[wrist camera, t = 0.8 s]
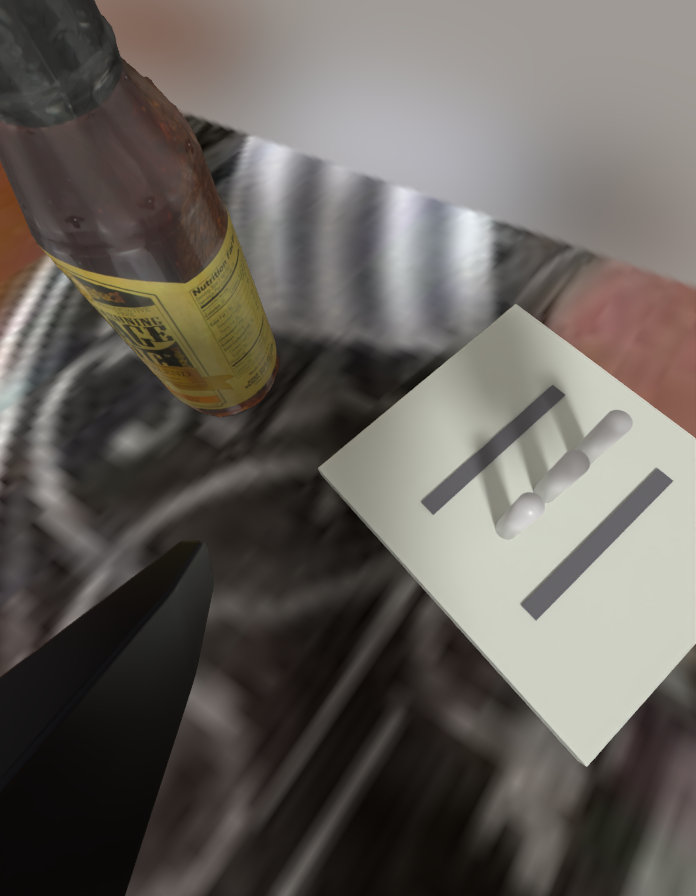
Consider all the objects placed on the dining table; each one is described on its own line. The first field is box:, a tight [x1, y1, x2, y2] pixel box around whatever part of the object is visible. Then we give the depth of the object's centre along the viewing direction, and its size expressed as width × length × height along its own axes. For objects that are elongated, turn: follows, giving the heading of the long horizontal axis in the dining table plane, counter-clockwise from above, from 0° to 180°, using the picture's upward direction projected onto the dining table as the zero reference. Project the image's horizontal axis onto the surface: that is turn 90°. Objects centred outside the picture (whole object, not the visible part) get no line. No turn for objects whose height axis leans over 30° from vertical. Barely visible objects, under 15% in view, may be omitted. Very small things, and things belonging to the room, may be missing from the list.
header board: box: [318, 304, 696, 767], centre depth 20 cm, size 16×14×5 cm
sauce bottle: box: [0, 0, 279, 417], centre depth 17 cm, size 7×6×20 cm
